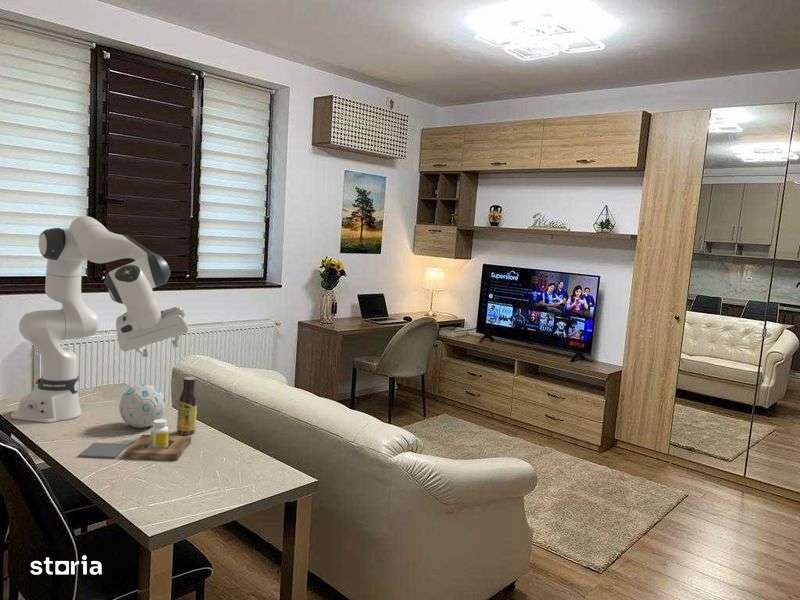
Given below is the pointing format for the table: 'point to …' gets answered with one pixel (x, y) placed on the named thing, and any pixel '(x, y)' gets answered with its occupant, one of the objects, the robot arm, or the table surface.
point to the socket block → (144, 452)
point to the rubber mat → (103, 450)
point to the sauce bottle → (187, 408)
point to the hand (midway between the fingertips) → (161, 350)
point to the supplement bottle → (159, 434)
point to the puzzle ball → (142, 405)
